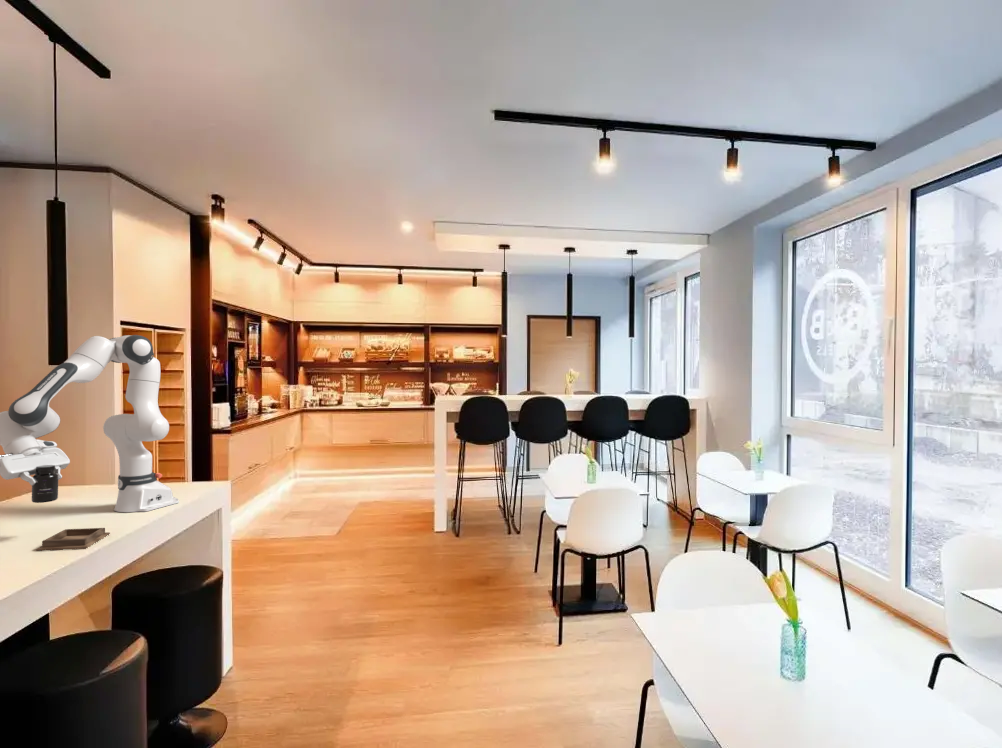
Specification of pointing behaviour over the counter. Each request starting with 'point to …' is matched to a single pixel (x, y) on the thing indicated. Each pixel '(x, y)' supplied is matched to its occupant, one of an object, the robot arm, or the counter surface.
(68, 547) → the walnut tray
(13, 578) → the counter surface
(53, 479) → the supplement bottle
